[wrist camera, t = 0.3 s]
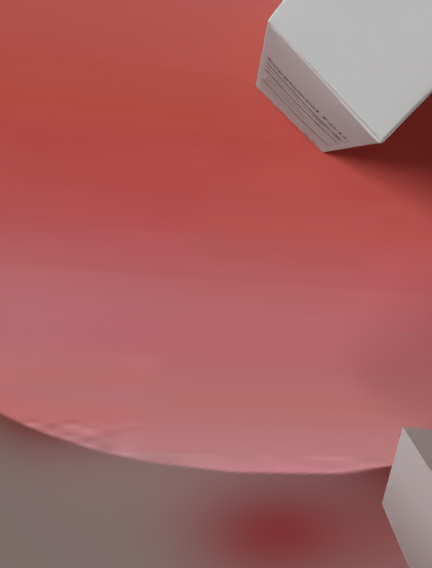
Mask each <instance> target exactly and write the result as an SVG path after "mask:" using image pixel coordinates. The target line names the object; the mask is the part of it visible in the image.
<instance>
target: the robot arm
mask: <svg viewBox="0 0 432 568" xmlns="http://www.w3.org/2000/svg"><path fill="white" fill-rule="evenodd" d="M382 505H383V508H384V510H385V512H386V515H387V517H388V519H389V521H390V524H391V526H392V529H393V531H394V533H395V536H396V538H397V540H398V543H399V545H400V547H401V549H402V552H403V554H404V557H405V559H406V561H407V564H408V566H409V568H432V430H429V429H419V428H409V427H403V429H402V432H401V436H400V440H399V443H398V447H397V451H396V454H395V458H394V462H393V465H392V469H391V473H390V476H389V480H388V484H387V487H386V491H385V495H384V499H383V502H382Z"/></svg>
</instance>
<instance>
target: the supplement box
mask: <svg viewBox="0 0 432 568" xmlns="http://www.w3.org/2000/svg"><path fill="white" fill-rule="evenodd" d="M256 86H257V88H258V89H259V90H260V91H261V92H262V93H263V94H264V95H265V96H266V97H267V98H268V99H269V100H270V101H271V102H272V103H273V104H274V105H275V106H276V107H277V108H278V109H279V110H280V111H281V112H282V113H284V114H285V115H286V116H287V117H288V118H289V119H290V120H291V121H292V122H293V123H294V124H295V125H296V126H297V127H298V128H299V129H300V130H301V131H302V132H303V133H304V134H305V135H306V136H307V137H308V138H309V139H310V140H311V141H312V142H313V143H314V144H315V145H316V146H317V147H318V148H319V149H320V150H321V151H322V152H328V151H335V150H340V149H346V148H352V147H358V146H364V145H370V144H376V143H383V142H384V141H385V140H386V139H387V138H388V137H389V136H390V135H391V134H392V133H393V132H394V131H395V130H396V129H397V128H398V127H399V126H400V125H401V124H402V123H403V122H404V121H405V120H406V118H407V117H408V116H409V115H410V114H411V113H412V112H413V111H414V110H415V109H416V108H417V107H418V106H419V105H420V104H421V103H422V102H423V101H424V100H425V99H426V98H427V97H428V96H429V95H430V94H431V93H432V0H283V1H282V3H281V4H280V5H279V6H278V8H277V9H276V10H275V12H274V13H273V14H272V16H271V17H270V18H269V20H268V23H267V29H266V34H265V40H264V45H263V51H262V56H261V61H260V66H259V71H258V77H257V82H256Z"/></svg>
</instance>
